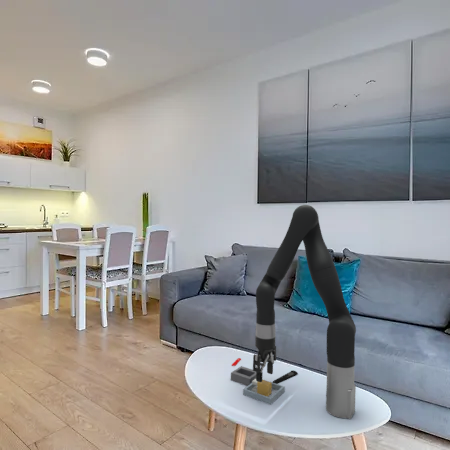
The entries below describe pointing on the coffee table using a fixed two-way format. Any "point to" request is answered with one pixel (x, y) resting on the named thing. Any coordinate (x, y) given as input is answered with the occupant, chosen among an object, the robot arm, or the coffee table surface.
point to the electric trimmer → (285, 377)
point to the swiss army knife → (236, 362)
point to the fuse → (262, 387)
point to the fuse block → (243, 375)
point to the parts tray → (263, 398)
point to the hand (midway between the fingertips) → (264, 377)
